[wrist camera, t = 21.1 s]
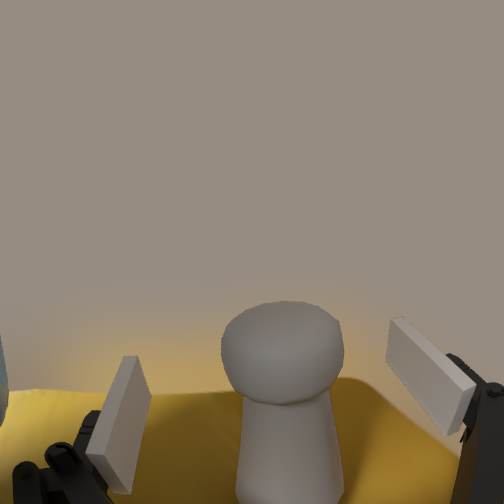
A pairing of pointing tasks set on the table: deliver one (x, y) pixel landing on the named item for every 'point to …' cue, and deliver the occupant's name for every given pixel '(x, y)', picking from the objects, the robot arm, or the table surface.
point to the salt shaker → (286, 402)
